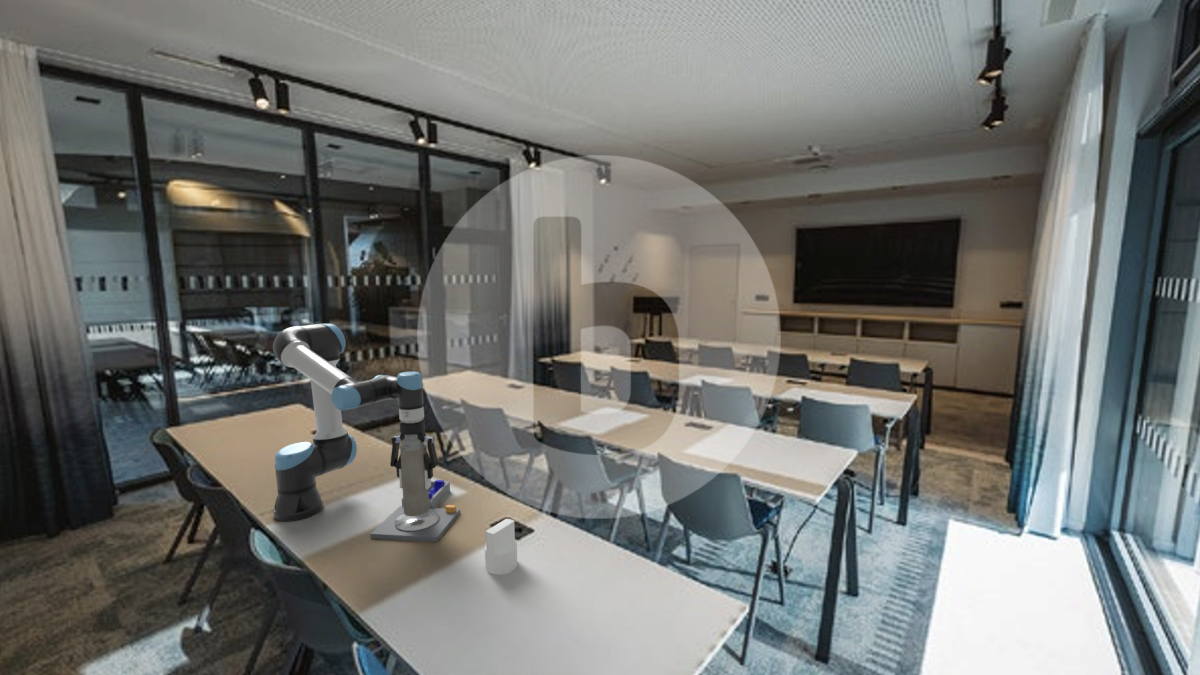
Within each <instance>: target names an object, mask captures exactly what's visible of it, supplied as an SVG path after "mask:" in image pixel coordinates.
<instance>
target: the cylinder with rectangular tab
mask: <svg viewBox="0 0 1200 675" xmlns="http://www.w3.org/2000/svg"><path fill="white" fill-rule="evenodd" d="M515 532H516V531H515V521H514V520H513V519H510V518H505V519H503V520H502V521H501V522H498V523H496V524H494V525H493V526H491V527H490V528H488V529H486V530H485V546H484V561H485V562H484V566H485V567H484V568H485V570H486V571H487V573H489V574H491V575H492V574H493V575H495V576H496V575H497V576H499V575H506V574H509V573H511V572H513V571H514V570H515V569H516V568H517V567H518V544H517V541H516V539H515V537H516V536H515Z"/></svg>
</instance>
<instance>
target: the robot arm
mask: <svg viewBox="0 0 1200 675" xmlns="http://www.w3.org/2000/svg"><path fill="white" fill-rule="evenodd" d="M346 345H347V344H346V338H345V335H344V333H343V332H342V330H341V329H340V328H339V327H338V326H337V325H335V324H333V323H317V324H309V325H308V324H307V325H298V326H290V327H287V328H285V329H283V330H282V331H280V332H279V333H278V334H277V335H276V337H275V339H274V341H273V344H272V350H273V354H274V356H275V358H276V359H277V360H278V361H279V362H280V363H281V364H282V365H284V366H285V367H288V368H294V369H295V370H296V371H298V372H299V373H300V374H303V376H305V377H306V378H308V379H309V380H310V384H311V385H310V386H311V393H312V403H313V411H314V420H315V428H316V432H315V433H314V434H313V436H312V442H310V441H300V442H295V443H291V444H288V445H286V446H284V447H282V448H281V449H279V450H278V451H277V452H276V454H274V455H275V456H274V468H275V478H276V488H277V496H276V499H275V504H274V507H273V510H272V513H273V518H274V519H275V521H281V522H293V521H294V522H295V521H299V520H303V519H307V518H309V517H312V516H314V515H317V514H318V513H320V512H321V511H322V510H323V509H324V499H323V498H322V497H321V494H320V491H319V490H318V487H317V480H316V478H318V477H319V476H323V475H325V474H327V473H331V472H333V471H336V470H339V469H344V467H346V466H349V465H351V464H352V463H353V461H355V459H356V458H357V457H356V456H357V453H358V452H357V451H358V448H357V446H358V445H357V442H356V440H355V438H354V437H353V435H352V434H350V433H349V430H347V429H345V428H344V427H343V416H342V412H343V411H347V410H354V409H357V408H361V407H363V406H368V405H371V404H376V403H379V402H383V401H388V400H392V401H398V412H399V413H398V416H399V418H398V419H399V420H400V421H399V432H400V435H396V434H395V436H393V437H391V444H392V446H391V454H390V464H389V465H390V467H394V468H395V469H396V477H397V478H398V479H399V489H403V488H402V471H401V454H399V452H400V442H402V440H403V439H404V438H405V435H413V434H417V435H418V439H419V440H421V442H422V443H423V442H424V443H426V448H427V451H426V453H425V454H423V458H424V464H425V466H426V469H425V470H424V473H425V489H429V488H430V487H431V481H432V478H433V477H434V469H435V468H436V467H438V465H439V460H438V454H437V450H436V446H435V438H436V437H435V436H427V435H426V431H425V430H426V429H425V428H426V426H425V423H426V422H425V419H424V418H425V409H424V408H425V407H424V383H423V376H422V373H421V372H418V371H404V372H403V371H402V372H400V373H398V374H397V376H393V375H388V374H379V375H376V376H374V377H373V378H372V379H369V380H368V379H367V380H363V381H357V380H355V379H354V378H353V377H351V376H349V375H348V374H347V373H345V372H344V371H342V370H341V369H340V368H337V363H338V362H339V361H340V360H341V357H340V356H341V354H342V353H344V352H345V348H346Z"/></svg>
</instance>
